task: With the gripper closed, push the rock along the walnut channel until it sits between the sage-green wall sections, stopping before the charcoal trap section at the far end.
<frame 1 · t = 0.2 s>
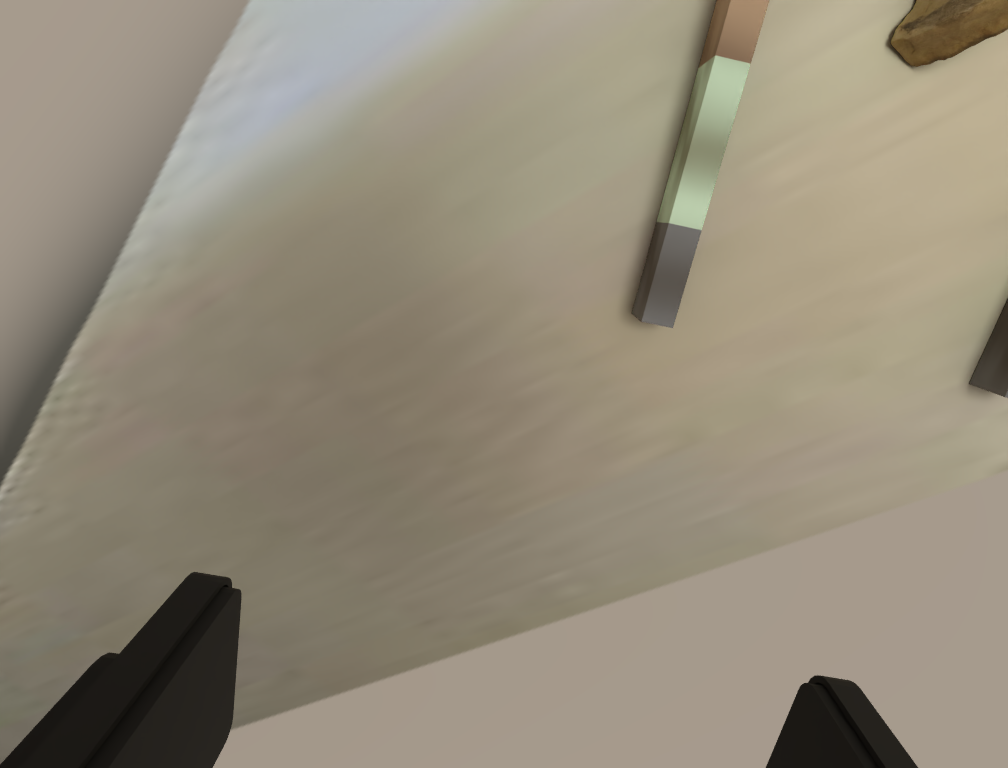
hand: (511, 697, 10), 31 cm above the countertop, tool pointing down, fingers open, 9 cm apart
channel: (898, 133, 36), on the countertop
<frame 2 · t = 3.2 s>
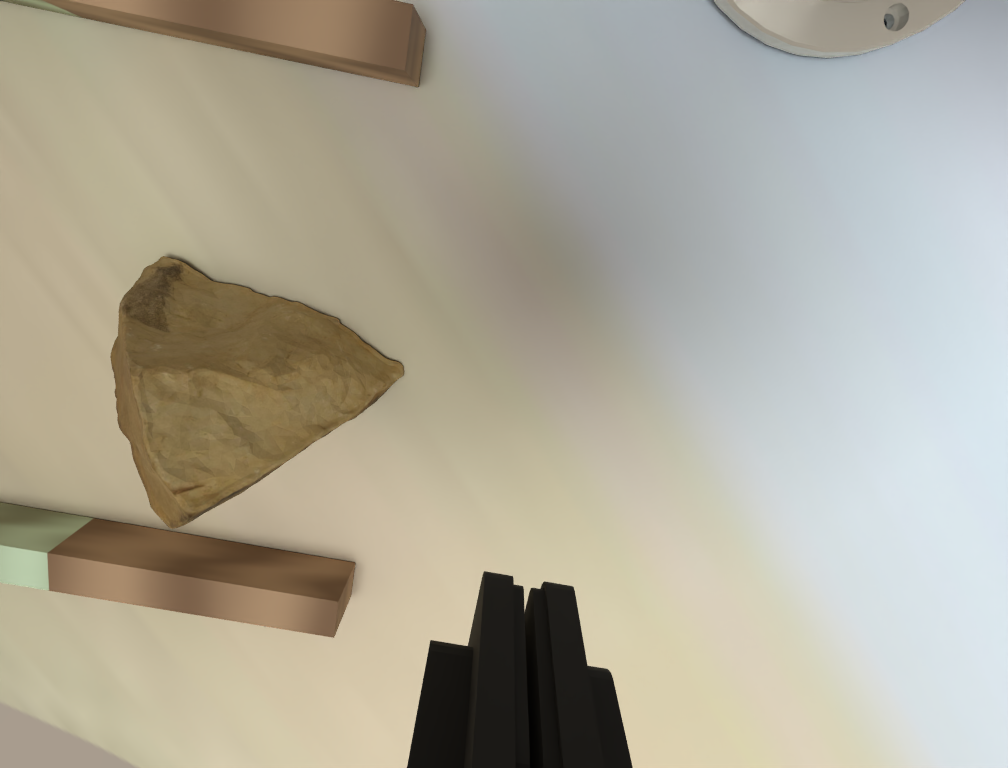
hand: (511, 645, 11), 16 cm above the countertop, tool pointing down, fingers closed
rock: (273, 332, 26), on the countertop
channel: (65, 295, 25), on the countertop
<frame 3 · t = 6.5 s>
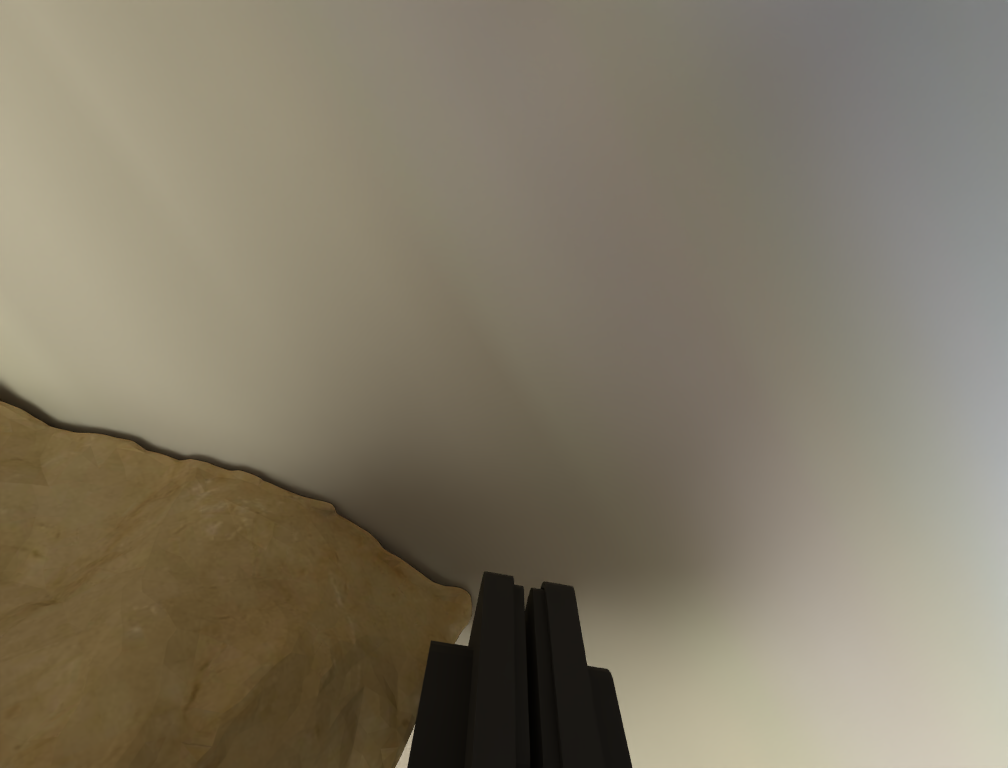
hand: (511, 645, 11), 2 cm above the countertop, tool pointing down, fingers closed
rock: (195, 523, 12), on the countertop, touching gripper
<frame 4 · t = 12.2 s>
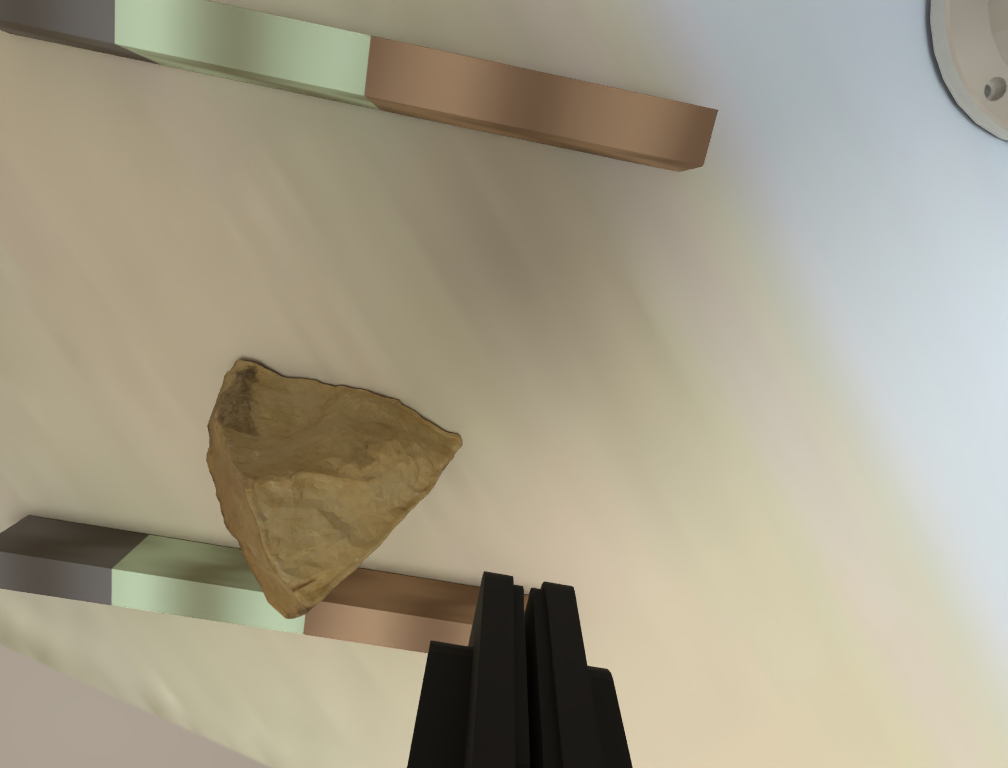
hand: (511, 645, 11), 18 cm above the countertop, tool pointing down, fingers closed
rock: (340, 416, 28), on the countertop
channel: (328, 357, 27), on the countertop
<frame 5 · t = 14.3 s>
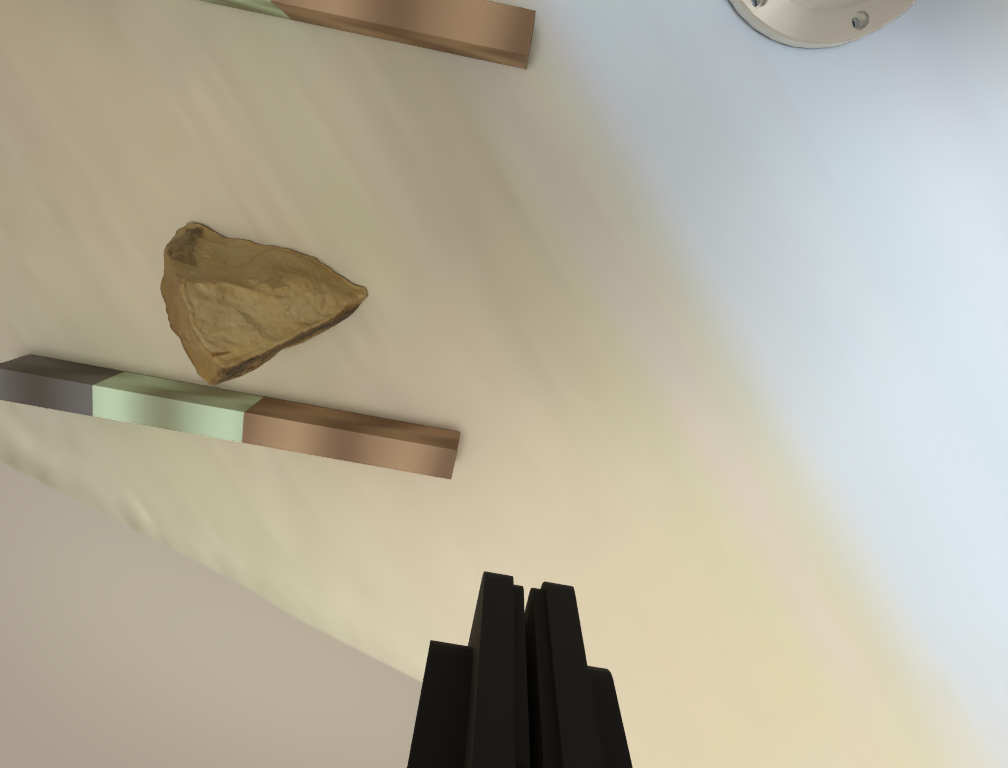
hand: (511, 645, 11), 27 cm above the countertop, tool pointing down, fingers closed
rock: (271, 273, 36), on the countertop
channel: (259, 221, 35), on the countertop
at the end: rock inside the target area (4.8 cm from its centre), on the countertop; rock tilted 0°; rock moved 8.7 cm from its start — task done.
